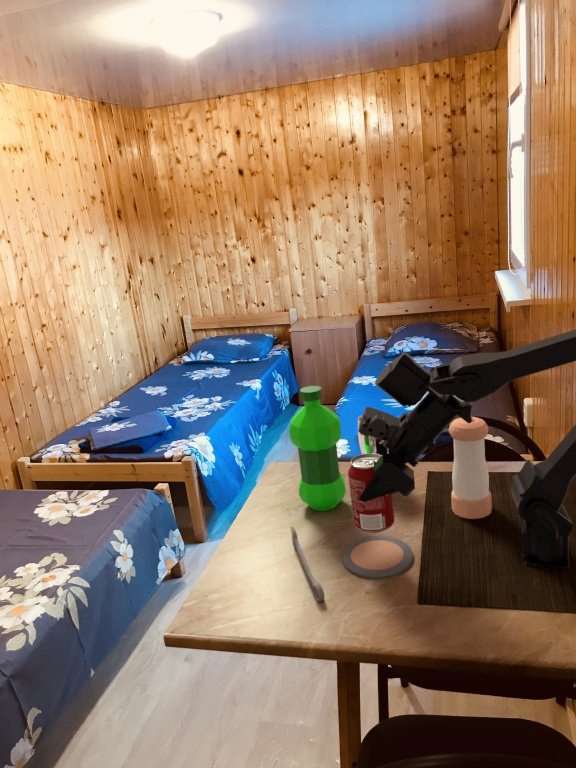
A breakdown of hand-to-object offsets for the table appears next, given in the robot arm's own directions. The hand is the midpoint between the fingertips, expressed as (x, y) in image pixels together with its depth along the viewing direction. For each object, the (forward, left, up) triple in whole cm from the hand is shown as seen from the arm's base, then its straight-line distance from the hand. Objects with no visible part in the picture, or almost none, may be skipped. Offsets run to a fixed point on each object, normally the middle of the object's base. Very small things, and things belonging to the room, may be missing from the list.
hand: (362, 490), depth 103 cm
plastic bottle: (+14, -18, -13) cm, 26 cm away
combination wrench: (+10, +5, -14) cm, 17 cm away
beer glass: (+5, -29, -13) cm, 32 cm away
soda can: (-1, 0, -7) cm, 7 cm away
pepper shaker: (-15, -20, -13) cm, 28 cm away
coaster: (-1, -1, -13) cm, 13 cm away
